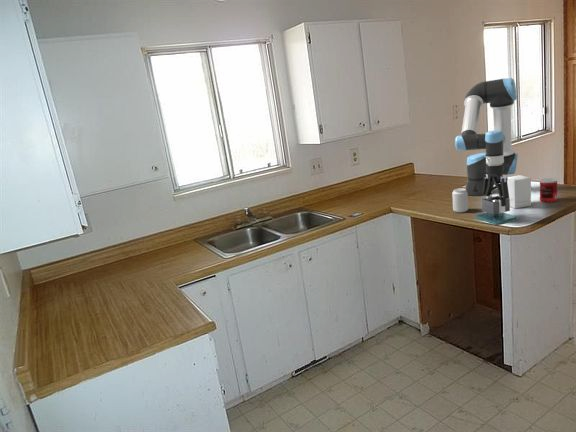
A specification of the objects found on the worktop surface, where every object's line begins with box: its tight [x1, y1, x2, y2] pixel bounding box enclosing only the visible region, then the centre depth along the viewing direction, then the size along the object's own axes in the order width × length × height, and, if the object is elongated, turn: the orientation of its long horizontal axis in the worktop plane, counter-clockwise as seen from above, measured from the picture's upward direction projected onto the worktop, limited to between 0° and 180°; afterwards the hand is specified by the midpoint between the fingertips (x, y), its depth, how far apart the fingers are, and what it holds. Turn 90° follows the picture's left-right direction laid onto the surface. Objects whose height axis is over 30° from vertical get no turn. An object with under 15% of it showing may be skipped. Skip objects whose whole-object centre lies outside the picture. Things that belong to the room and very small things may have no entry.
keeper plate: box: [475, 199, 518, 226], centre depth 206 cm, size 14×12×10 cm
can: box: [451, 187, 469, 214], centre depth 225 cm, size 8×8×12 cm
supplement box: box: [506, 174, 532, 209], centre depth 220 cm, size 9×9×15 cm
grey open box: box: [481, 195, 511, 215], centre depth 205 cm, size 8×9×6 cm
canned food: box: [539, 177, 558, 203], centre depth 220 cm, size 8×8×11 cm
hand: (495, 210), depth 206 cm, fingers closed on grey open box, 8 cm apart
